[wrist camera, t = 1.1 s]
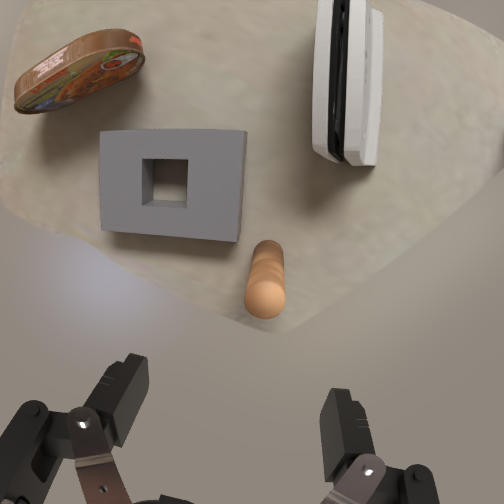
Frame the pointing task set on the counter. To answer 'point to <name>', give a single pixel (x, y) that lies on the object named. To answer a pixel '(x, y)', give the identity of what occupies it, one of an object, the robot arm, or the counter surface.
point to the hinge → (348, 81)
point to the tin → (78, 70)
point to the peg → (266, 281)
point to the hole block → (198, 185)
